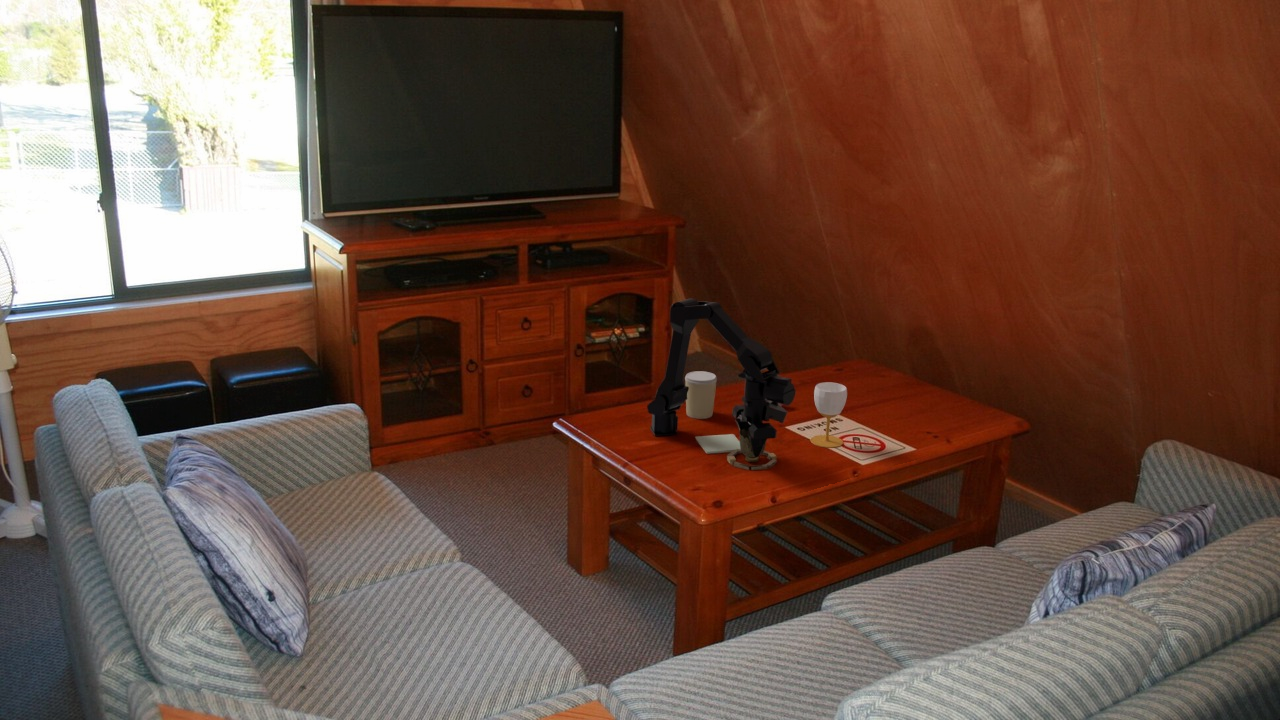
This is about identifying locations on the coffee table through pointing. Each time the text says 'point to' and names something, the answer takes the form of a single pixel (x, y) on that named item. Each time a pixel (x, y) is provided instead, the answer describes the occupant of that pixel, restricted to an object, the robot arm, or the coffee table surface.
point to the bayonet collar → (732, 461)
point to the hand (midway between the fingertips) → (752, 451)
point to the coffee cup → (700, 394)
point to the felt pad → (718, 443)
